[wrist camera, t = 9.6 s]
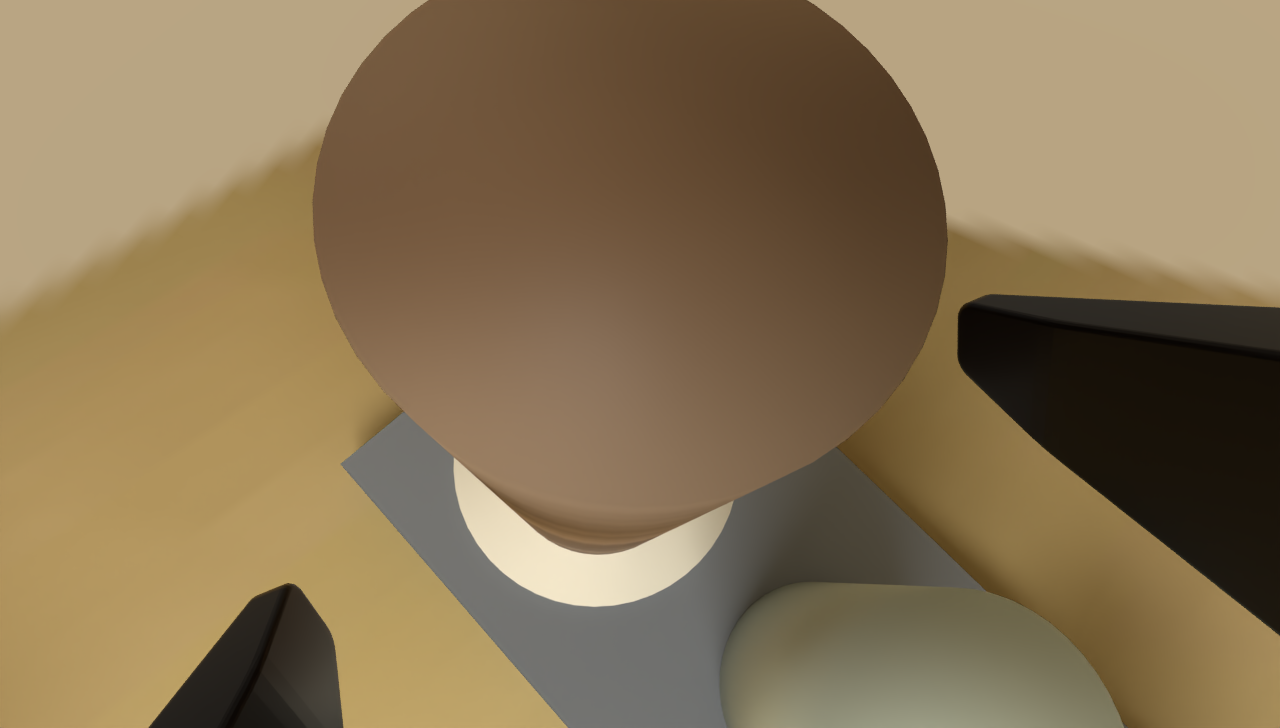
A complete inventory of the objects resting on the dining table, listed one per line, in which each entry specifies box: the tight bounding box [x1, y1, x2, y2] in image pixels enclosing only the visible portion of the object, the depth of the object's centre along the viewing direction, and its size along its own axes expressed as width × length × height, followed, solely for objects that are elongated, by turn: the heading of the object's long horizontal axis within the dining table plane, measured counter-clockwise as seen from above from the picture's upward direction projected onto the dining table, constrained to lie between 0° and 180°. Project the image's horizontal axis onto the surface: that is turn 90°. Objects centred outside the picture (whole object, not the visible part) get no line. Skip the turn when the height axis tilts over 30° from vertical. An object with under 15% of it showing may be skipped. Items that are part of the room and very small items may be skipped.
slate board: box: [341, 412, 1128, 728], centre depth 17 cm, size 24×10×1 cm, turn 44°
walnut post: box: [313, 0, 948, 555], centre depth 11 cm, size 5×5×13 cm
